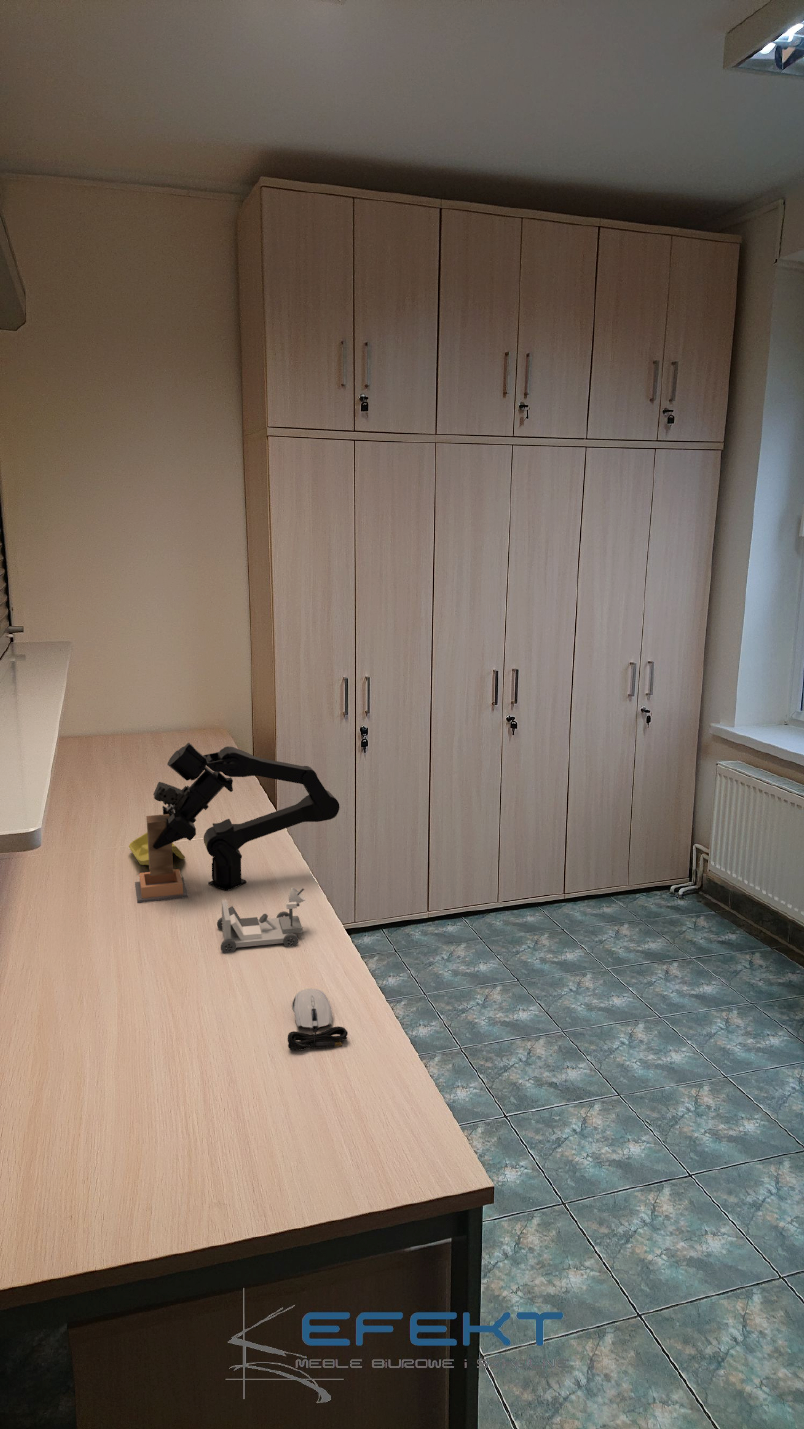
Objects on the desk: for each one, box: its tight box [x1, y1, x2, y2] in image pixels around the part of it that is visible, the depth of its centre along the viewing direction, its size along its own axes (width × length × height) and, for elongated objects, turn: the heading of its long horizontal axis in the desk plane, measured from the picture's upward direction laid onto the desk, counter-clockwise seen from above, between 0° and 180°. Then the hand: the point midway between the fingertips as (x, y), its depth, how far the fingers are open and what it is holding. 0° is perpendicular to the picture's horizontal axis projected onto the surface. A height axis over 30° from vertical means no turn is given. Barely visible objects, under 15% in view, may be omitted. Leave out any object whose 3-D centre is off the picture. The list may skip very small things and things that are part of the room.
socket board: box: [134, 868, 189, 904], centre depth 213 cm, size 11×11×3 cm
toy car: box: [216, 886, 306, 954], centre depth 191 cm, size 18×10×12 cm
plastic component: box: [128, 832, 186, 866], centre depth 230 cm, size 20×7×10 cm
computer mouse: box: [287, 988, 348, 1051], centre depth 160 cm, size 10×18×4 cm, turn 13°
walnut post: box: [146, 813, 174, 876], centre depth 211 cm, size 5×5×12 cm
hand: (153, 843), depth 211 cm, fingers closed on walnut post, 5 cm apart
